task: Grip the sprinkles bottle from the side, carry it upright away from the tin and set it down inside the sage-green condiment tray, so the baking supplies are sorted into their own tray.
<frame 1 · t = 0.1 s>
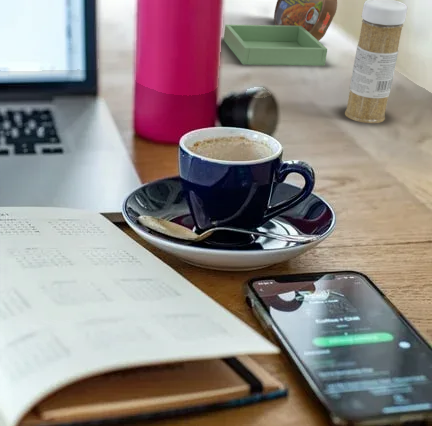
tin: (293, 37, 131), on the table, touching condiment tray
condiment tray: (272, 55, 121), on the table
sprinkles bottle: (363, 121, 101), on the table
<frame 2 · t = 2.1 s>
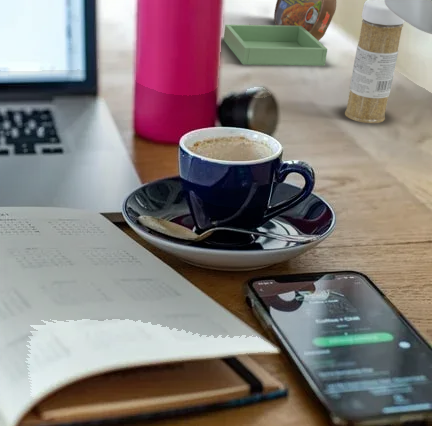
nothing on the table moved.
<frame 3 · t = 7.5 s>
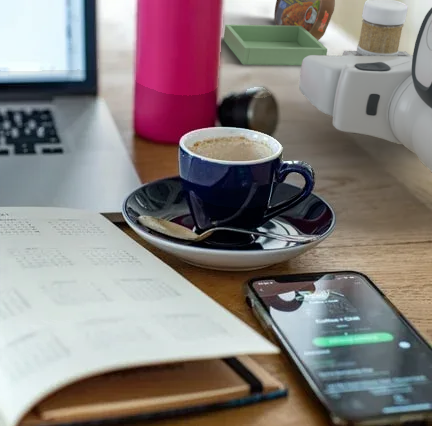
hand: (372, 57, 98), 7 cm above the table, tool horizontal, fingers closed on sprinkles bottle, 4 cm apart
sprinkles bottle: (363, 121, 101), on the table, touching gripper
everything else where it was.
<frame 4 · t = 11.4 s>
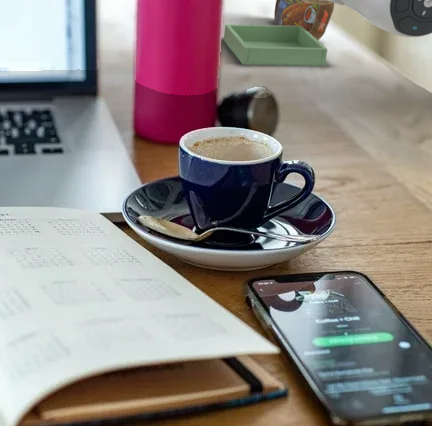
sprinkles bottle: (315, 2, 109), point 10 cm above the table, touching gripper
everything else where it was.
when the fingers open (7 cm above the table, at t = 15.7 s): sprinkles bottle stays where it is, resting on condiment tray.
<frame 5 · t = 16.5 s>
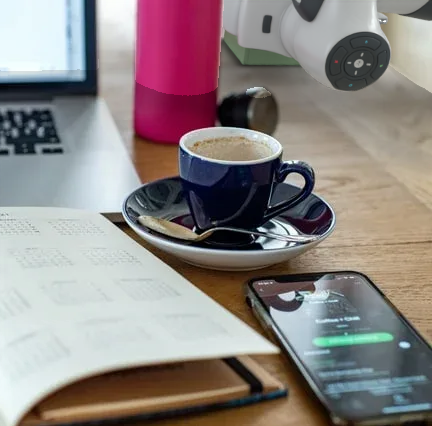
sprinkles bottle: (271, 53, 121), resting on condiment tray
everything else where it was.
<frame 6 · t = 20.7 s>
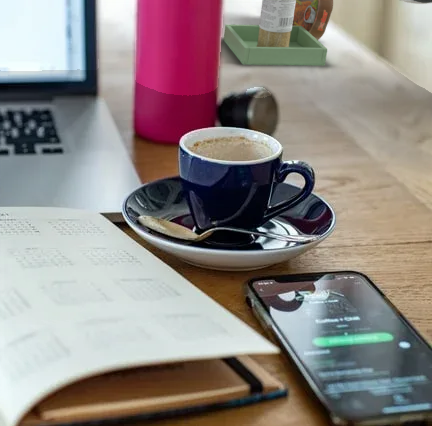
nothing on the table moved.
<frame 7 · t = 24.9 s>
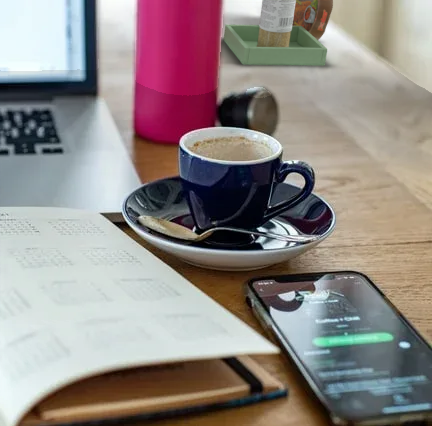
nothing on the table moved.
at the end: sprinkles bottle 0.1 cm off-centre in the condiment tray, point 0.3 cm above the condiment tray's base; sprinkles bottle tilted 0° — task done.
